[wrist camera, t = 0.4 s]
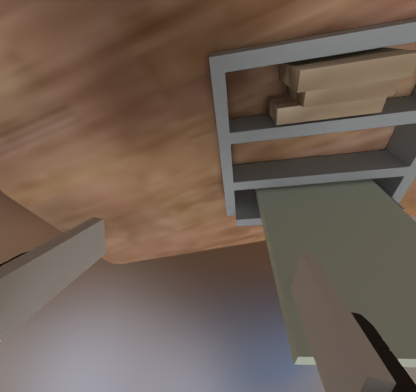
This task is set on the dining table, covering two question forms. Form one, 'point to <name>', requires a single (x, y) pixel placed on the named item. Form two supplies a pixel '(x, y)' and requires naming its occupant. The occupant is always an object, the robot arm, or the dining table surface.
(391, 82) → the pine offcut stack
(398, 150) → the offcut rack
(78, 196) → the dining table surface
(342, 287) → the sage hardboard sheet
